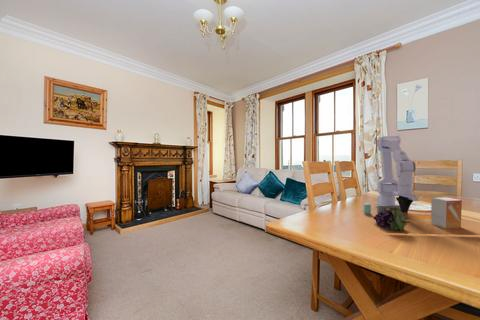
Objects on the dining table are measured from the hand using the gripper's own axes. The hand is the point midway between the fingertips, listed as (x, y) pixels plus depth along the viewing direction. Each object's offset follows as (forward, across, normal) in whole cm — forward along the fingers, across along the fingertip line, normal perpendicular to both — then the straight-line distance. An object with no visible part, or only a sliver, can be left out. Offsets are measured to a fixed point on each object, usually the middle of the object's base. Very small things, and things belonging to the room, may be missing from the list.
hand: (404, 212), depth 100 cm
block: (+4, -6, 0) cm, 7 cm away
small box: (+5, +8, +12) cm, 15 cm away
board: (+4, -2, 0) cm, 5 cm away
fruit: (+5, +12, -14) cm, 19 cm away
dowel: (+4, -9, -13) cm, 16 cm away
